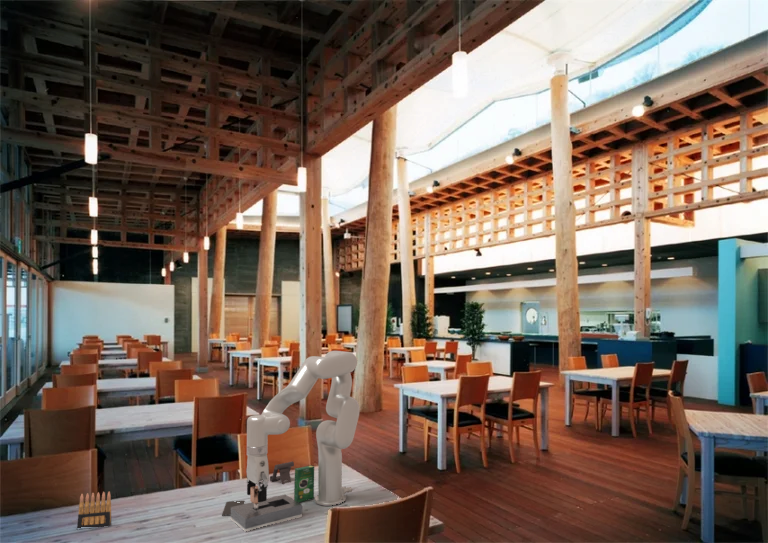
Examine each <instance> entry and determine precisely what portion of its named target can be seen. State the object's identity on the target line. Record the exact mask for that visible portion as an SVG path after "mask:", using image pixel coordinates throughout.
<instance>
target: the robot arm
mask: <svg viewBox="0 0 768 543" xmlns="http://www.w3.org/2000/svg"><path fill="white" fill-rule="evenodd" d="M357 366H358V358H357V356H356V355H355V354H354V353H353V352H350V351H342V350H330V351H329V352H327V353H326V354H325V356H317V355H314V356H312V355H311V356H309V357H307V358H306V359H305V360H303V363H302V364H301V366H300V367H299V369H298V370H297V372H296V373H295V374H294V376H293V377H292V378H291V380H290V382H288V385H287V386H285V387H284V388H283V389H281V390H280V391H279V392H278V393H277V394H276V395H274V396H273V397H272V398H271V400H269V402H268V404H267V405H266V407H265V408H264V409H263V411H262V413H261V414H255V415H251V416H249V417H248V418H247V419H246V456H247V460H246V478H247V480H246V495H248V496H250V491H251V487H253V486H258V489H259V491H258V502H264V501H266V500H267V499H268V498H267V495H268V494H267V491H268V486H269V482H270V474H269V473H270V471H269V470H270V469H269V460H268V455H267V454H268V450H269V449H268V445H269V444H268V442H269V441H268V438H269V437H268V436H269V435H276V436H277V435H282V434H284V433H287V431H288V430H289V429H290V426H291V420H290V419H289V417H288V416H287V415H285V414H283V413H284V412H285V410H287V409H288V407H290V406H291V405H293V404H295V403H297V402H301V401H302V400H304V399H306V398H307V397H308V395H309V394H310V392H311V390H312V389H313V387H314V385H315V384H316V383H317V381H318V380H319V379H321V380H326V379H327V380H329V379H331V384H330V390H329V393H328V395H327V396H328V397H327V401H326V403H325V404H326V405H325V411H326V414H327V415H328V416H329V417H331V418H335V419H336V421H335V420H330V419H327V420H323V421H322V422H320V423H319V424H318V426H317V428H316V431H315V436H316V438H315V439H316V442H317V452H318V455H317V456H318V459H317V460H318V464H317V465H318V466H317V467H318V468H317V469H318V472H317V473H318V479H317V480H318V486H317V487H318V489H317V490H318V491H317V493H318V495H315V496H314V499H313V500H314V503H315V504H316V505H319V506H323V507H324V506H325V507H328V506H329V507H330V506H331V507H333V506H337V505H336V504H338V505H340V504H339V503H341V504H343V503H344V501H345V502H346V501H347V500H346V499H347V496H346V494H347V493H352V492H353V488H352V486H349V487H346V486H343V476H342V474H343V472H342V471H343V470H342V469H343V467H342V466H343V454H342V450H346V449H347V448H348V447H350V446H351V445H352V443H353V441H354V437H355V433H356V430H357V426H358V421H359V418H360V404H359V401H358V400H357V399H356V398H354V397H352V396H351V392H352V387H353V386H352V385H353V380H352V379H353V378H352V375H351V373H352V372H353V371H354V370H355V369H356V368H357ZM342 502H343V503H342ZM332 505H333V506H332Z"/></svg>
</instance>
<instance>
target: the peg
mask: <svg viewBox="0 0 768 543" xmlns="http://www.w3.org/2000/svg"><path fill="white" fill-rule="evenodd" d="M258 491H259V489H258V485H256V486H253V487H251V491H250V495H249V496H250V498H249V502H250V503H251V502H252V503H254V510H258V503H259V502H258Z"/></svg>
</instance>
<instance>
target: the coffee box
mask: <svg viewBox="0 0 768 543" xmlns="http://www.w3.org/2000/svg"><path fill="white" fill-rule="evenodd" d="M293 489H294V491H293V492H294V493H293V495H294V497H293V500H295V501H297V502H298V503H303V502H307V501H310V500H314V499H315V466H314V465H307V466H302V467H295V468H294V488H293Z"/></svg>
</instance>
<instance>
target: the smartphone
mask: <svg viewBox="0 0 768 543" xmlns="http://www.w3.org/2000/svg"><path fill="white" fill-rule="evenodd" d="M234 501H236V502H234ZM237 502H240V503H237ZM244 502H245V503H246V501H245V500H232V501H230V500H229V501H226V502H225V506H224V508H223V510H222V514H221V517H231V507H234V506H238V505H243V504H244Z"/></svg>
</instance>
